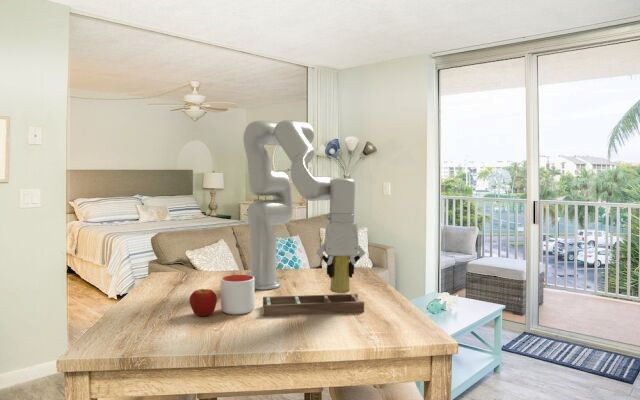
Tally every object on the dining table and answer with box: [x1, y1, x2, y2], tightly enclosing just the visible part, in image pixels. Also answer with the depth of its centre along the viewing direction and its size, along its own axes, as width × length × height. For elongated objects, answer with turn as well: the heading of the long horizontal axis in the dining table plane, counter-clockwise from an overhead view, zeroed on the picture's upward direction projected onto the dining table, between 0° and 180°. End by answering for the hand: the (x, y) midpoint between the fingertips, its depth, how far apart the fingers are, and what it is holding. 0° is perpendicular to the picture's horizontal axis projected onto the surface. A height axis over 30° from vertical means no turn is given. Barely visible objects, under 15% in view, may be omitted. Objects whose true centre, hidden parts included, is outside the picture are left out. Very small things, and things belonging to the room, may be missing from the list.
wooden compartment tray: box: [262, 293, 365, 317], centre depth 143 cm, size 10×30×3 cm, turn 98°
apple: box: [189, 288, 218, 317], centre depth 137 cm, size 8×8×8 cm
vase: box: [329, 256, 351, 294], centre depth 144 cm, size 6×6×14 cm
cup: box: [220, 274, 256, 315], centre depth 141 cm, size 10×10×10 cm
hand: (340, 276), depth 145 cm, fingers closed on vase, 5 cm apart
